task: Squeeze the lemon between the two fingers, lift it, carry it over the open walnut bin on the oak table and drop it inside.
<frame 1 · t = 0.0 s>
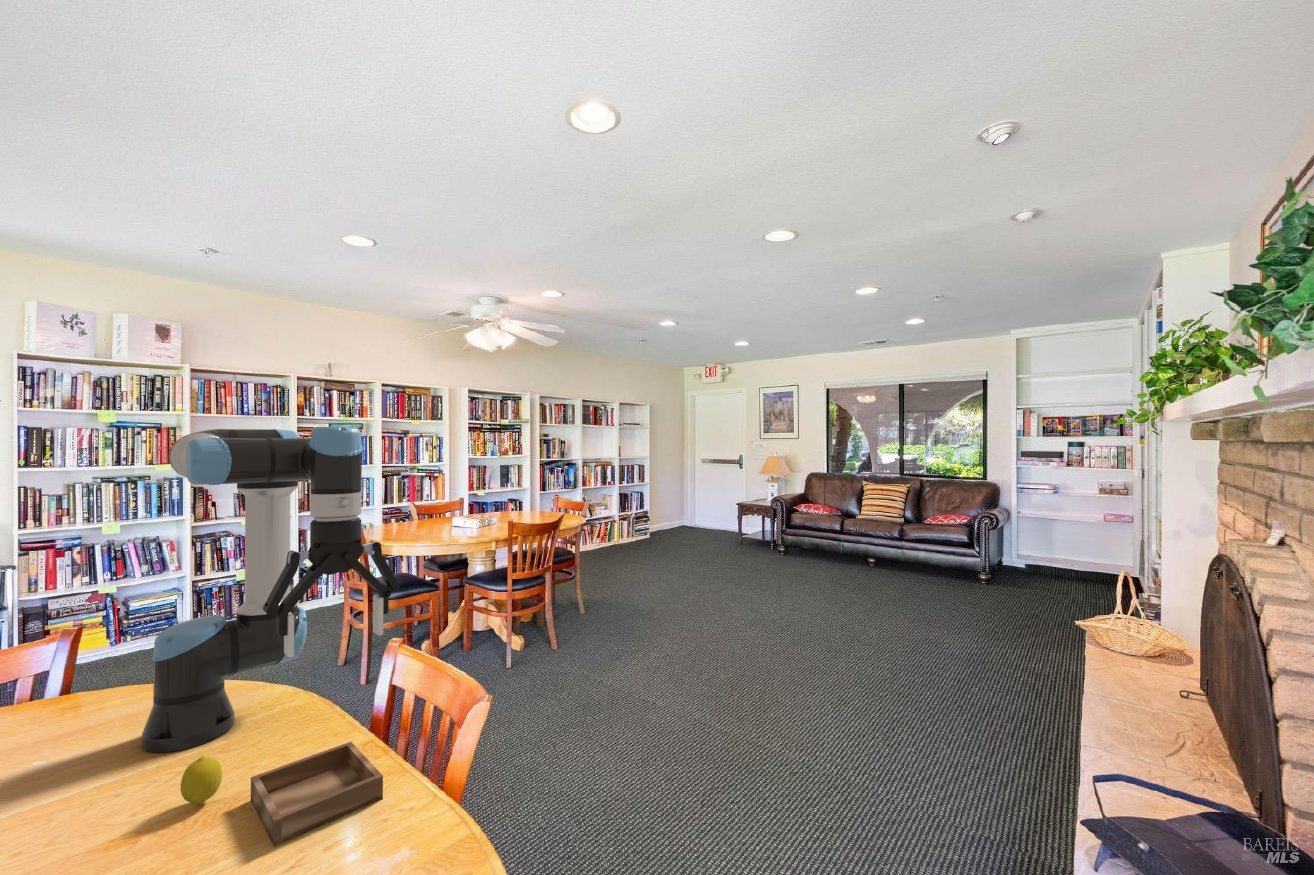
hand: (335, 643, 95), 28 cm above the table, tool pointing down, fingers open, 13 cm apart
lemon: (201, 804, 96), on the table
walnut bin: (316, 799, 97), on the table
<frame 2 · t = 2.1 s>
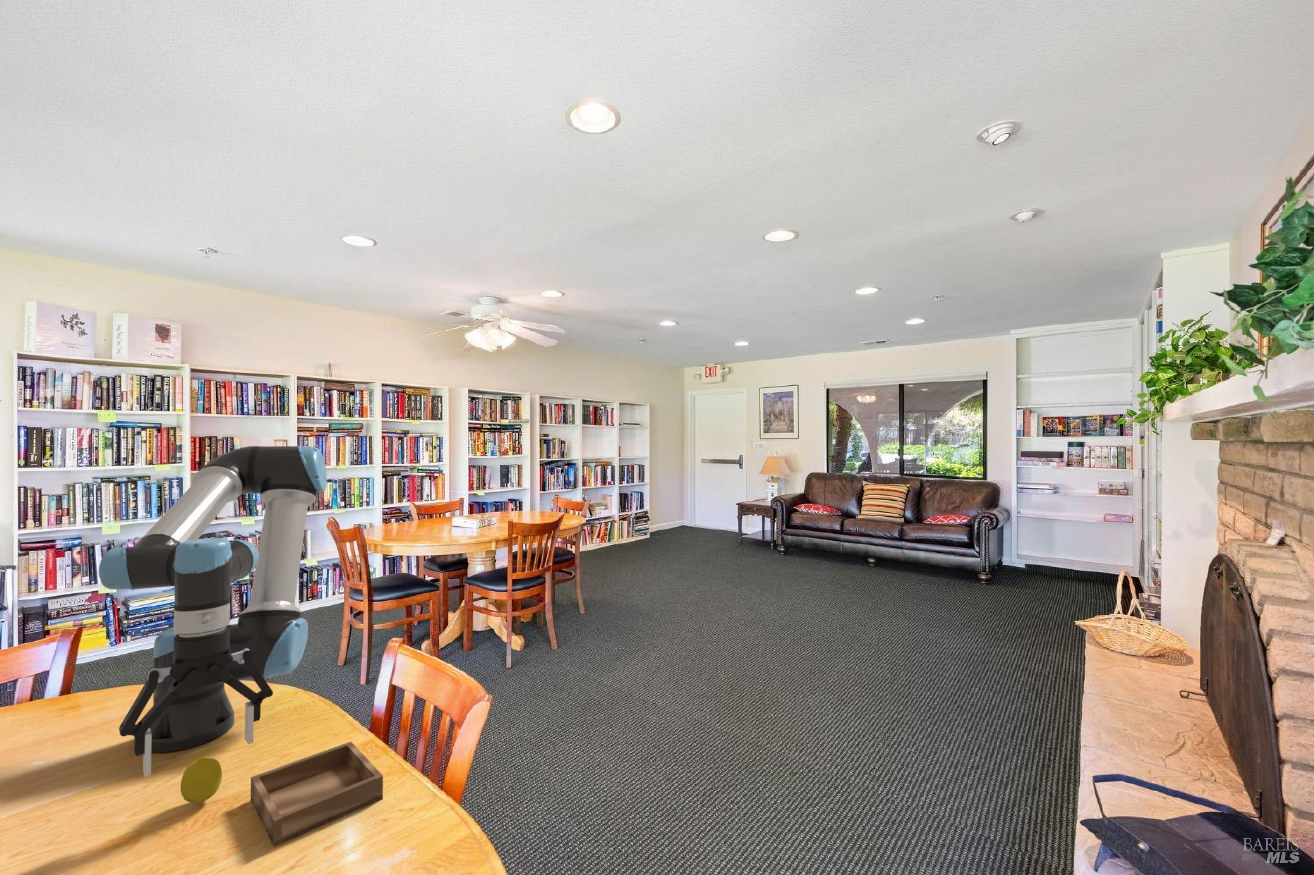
hand: (200, 756, 96), 8 cm above the table, tool pointing down, fingers open, 13 cm apart
nothing on the table moved.
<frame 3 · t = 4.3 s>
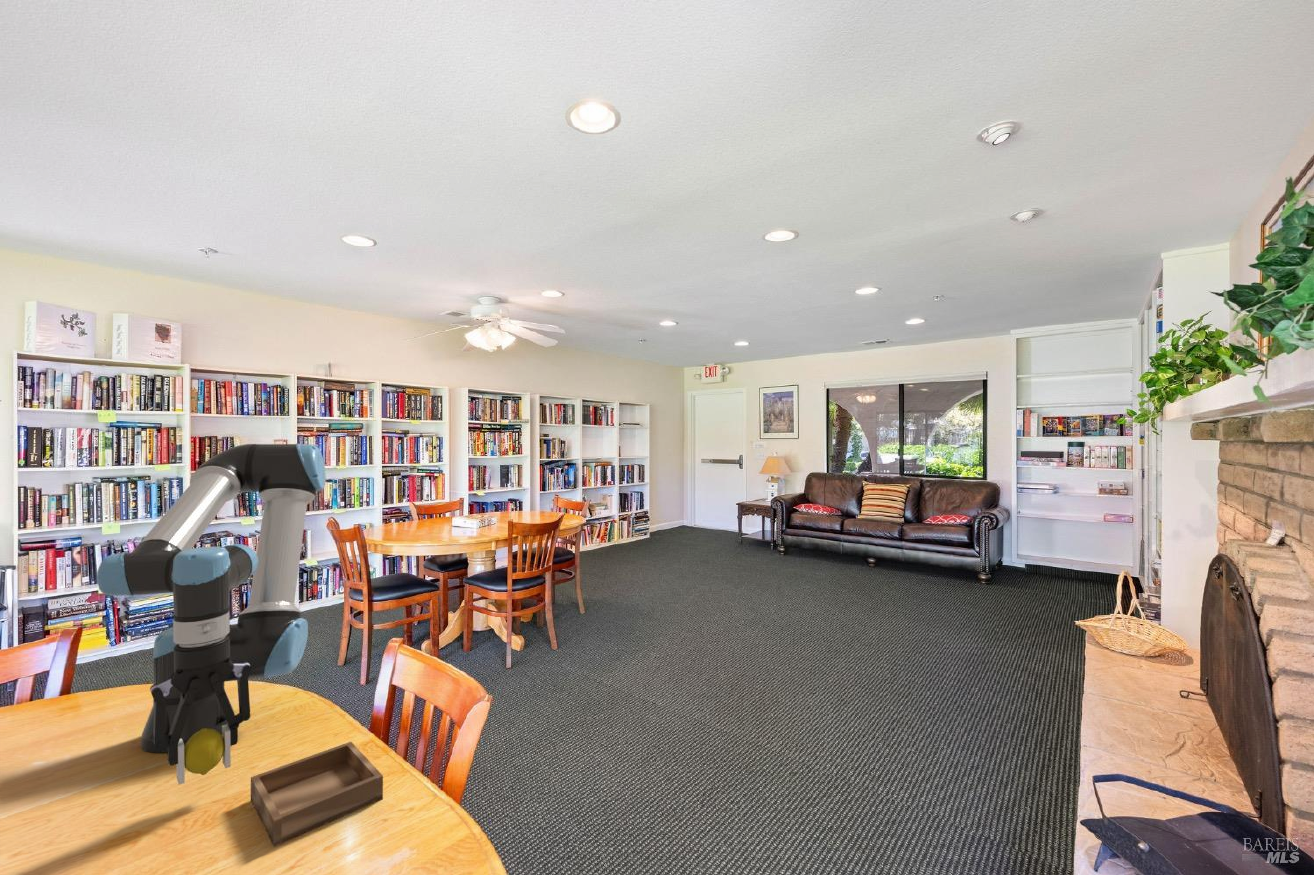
hand: (204, 771, 97), 5 cm above the table, tool pointing down, fingers closed on lemon, 5 cm apart
lemon: (204, 775, 97), point 4 cm above the table, touching gripper
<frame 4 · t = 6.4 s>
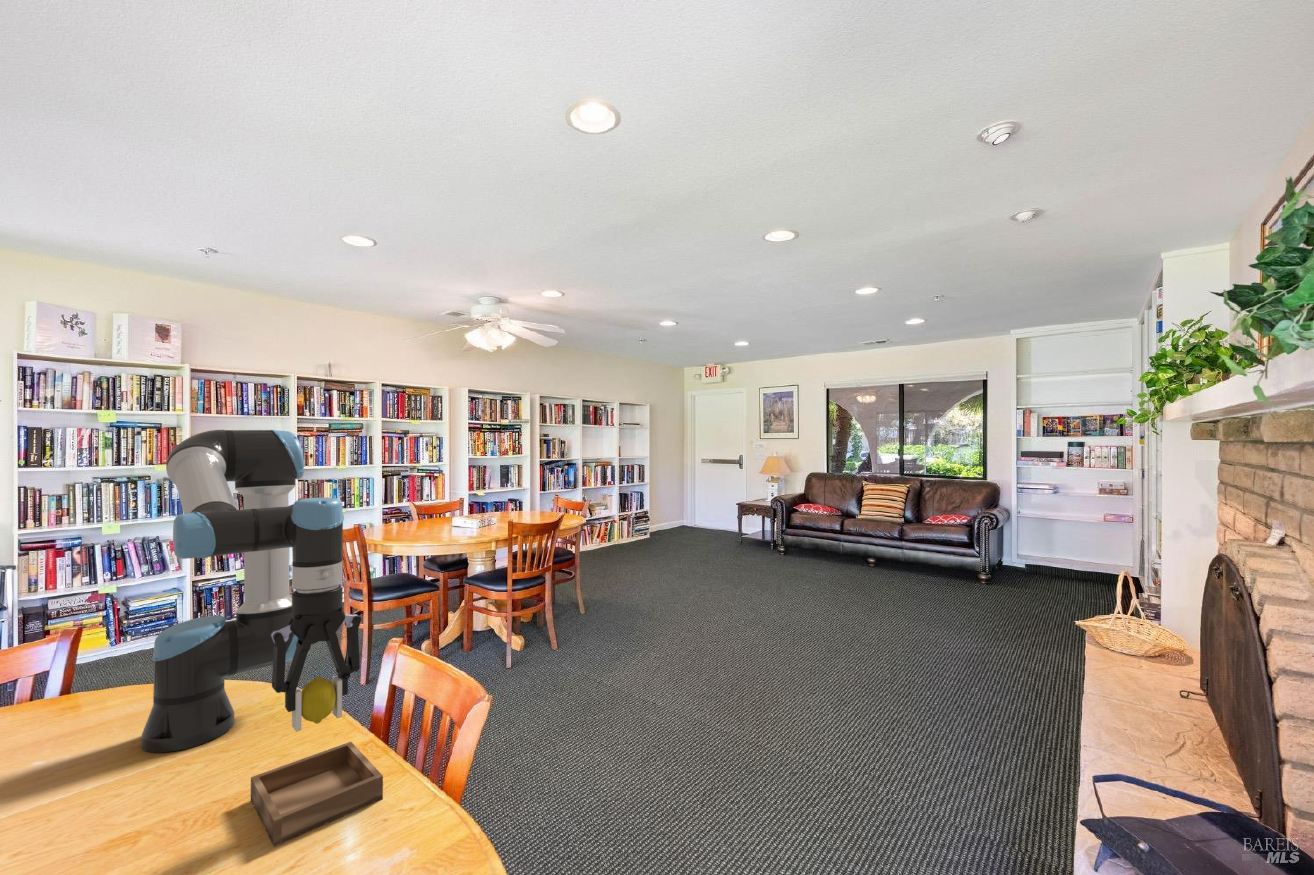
hand: (317, 721, 97), 14 cm above the table, tool pointing down, fingers closed on lemon, 5 cm apart
lemon: (317, 724, 97), point 13 cm above the table, touching gripper
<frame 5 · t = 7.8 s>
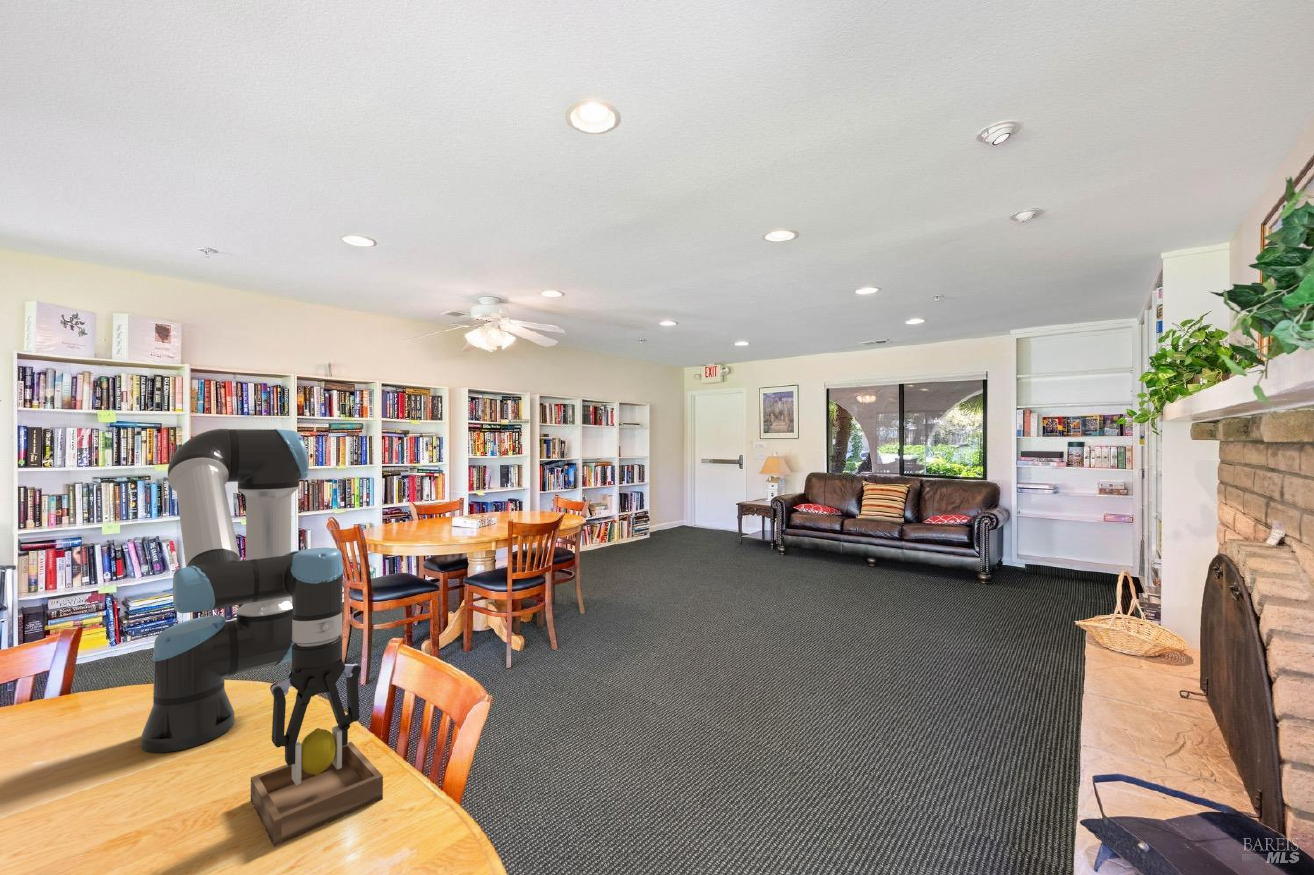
hand: (317, 772, 97), 5 cm above the table, tool pointing down, fingers closed on lemon, 5 cm apart
lemon: (317, 776, 97), point 4 cm above the table, touching gripper
when the fingers open (4 cm above the table, at t = 8.3 s): lemon drops 3 cm, resting on walnut bin.
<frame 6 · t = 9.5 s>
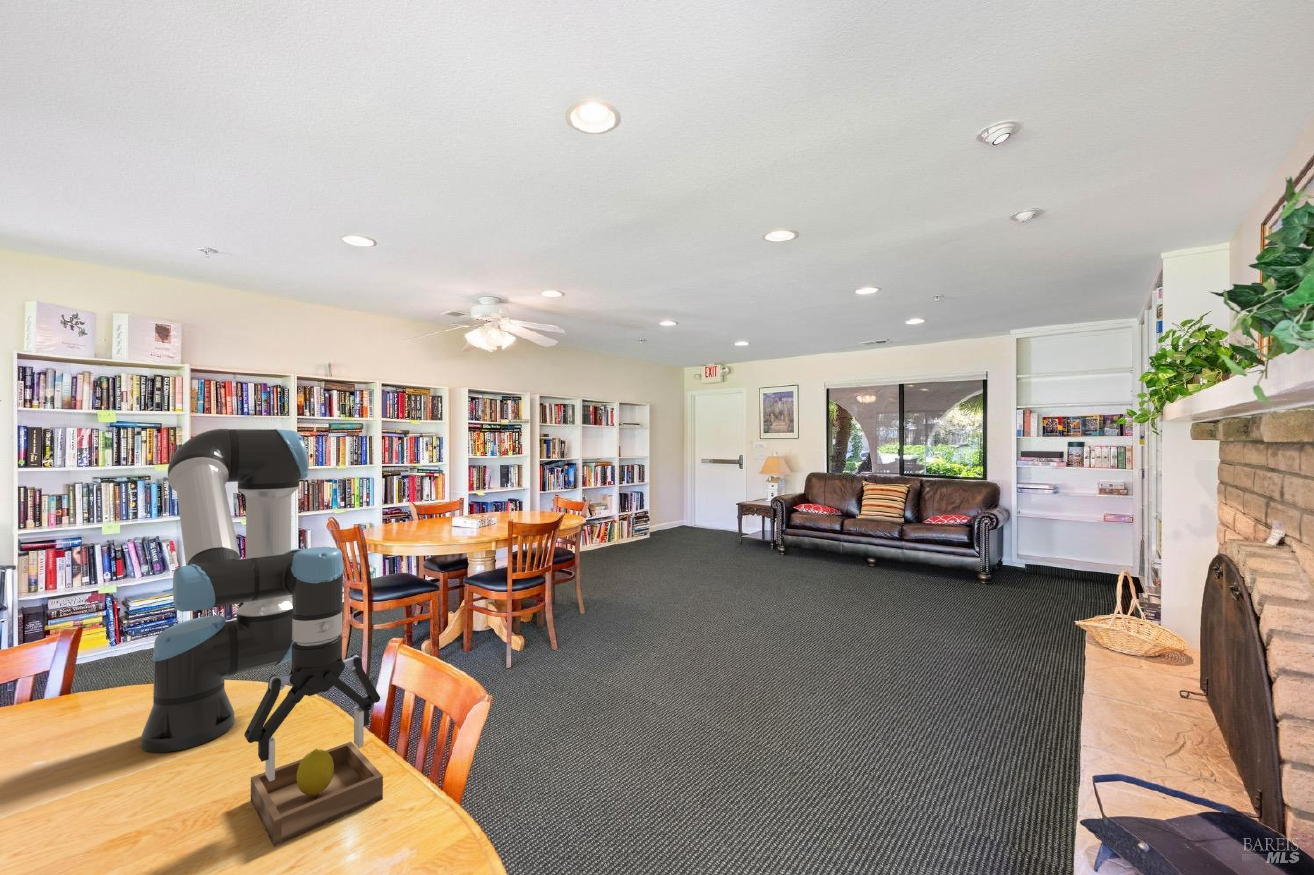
hand: (316, 760, 98), 7 cm above the table, tool pointing down, fingers open, 13 cm apart
lemon: (315, 796, 97), point 1 cm above the table, touching walnut bin
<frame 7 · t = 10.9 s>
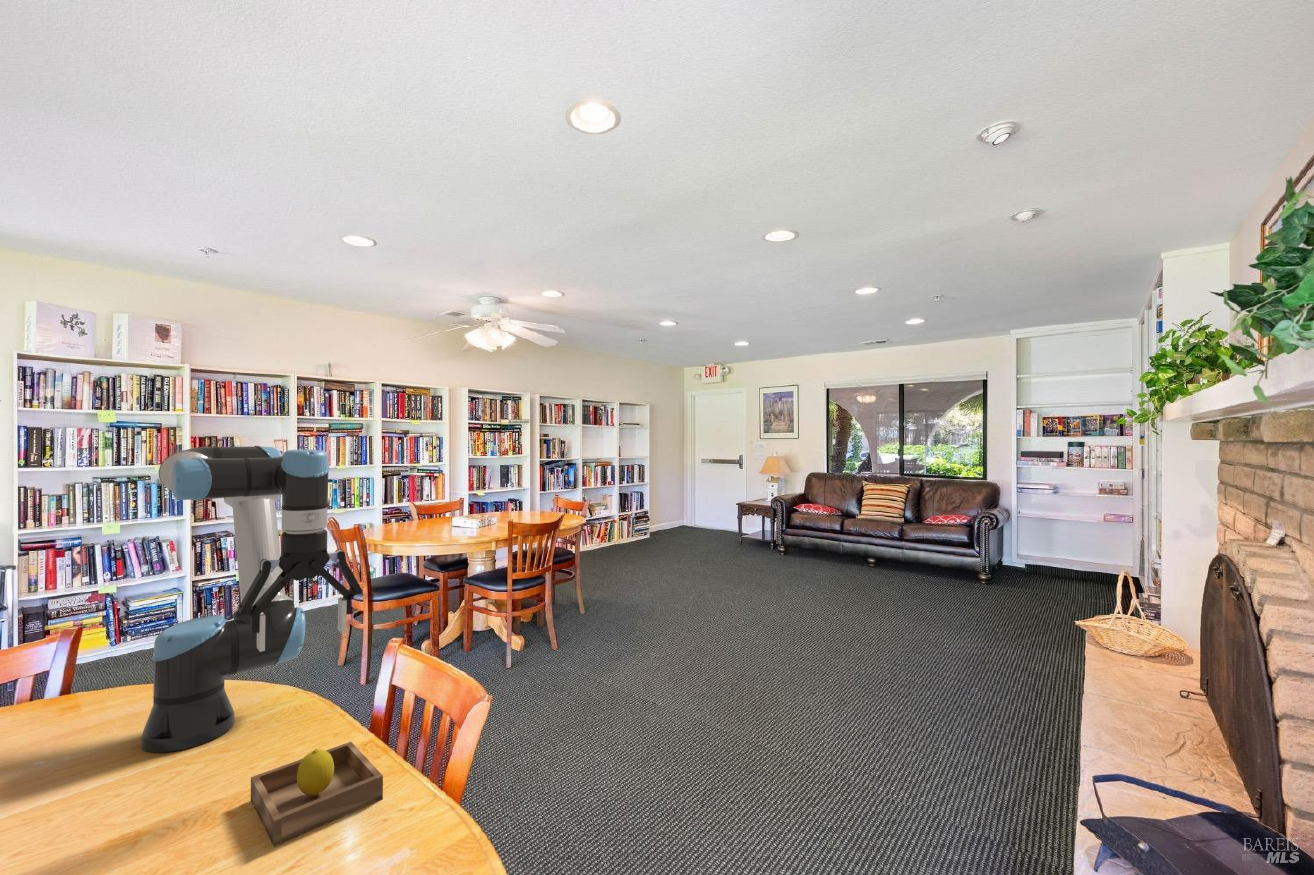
hand: (303, 639, 108), 24 cm above the table, tool pointing down, fingers open, 13 cm apart
nothing on the table moved.
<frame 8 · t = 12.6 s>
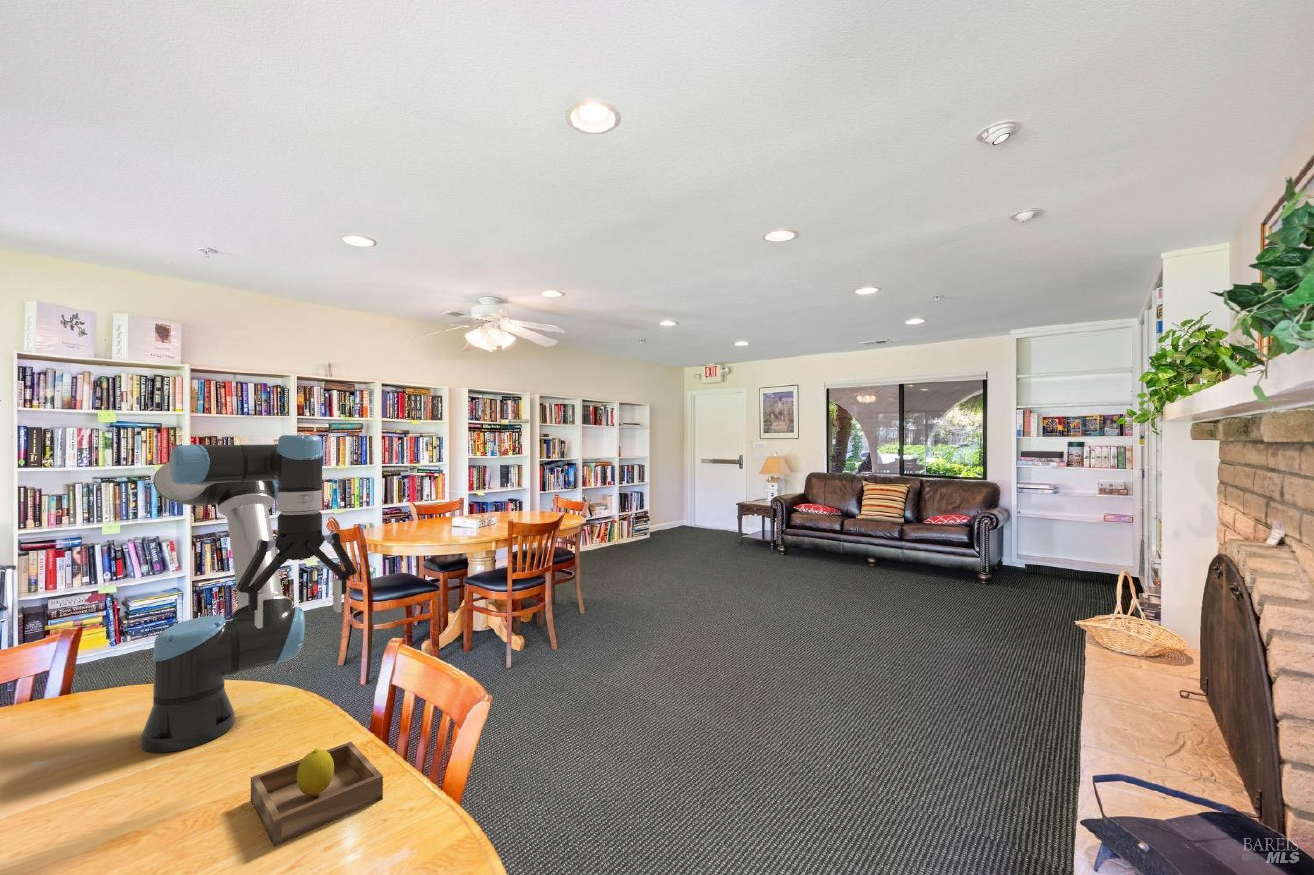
hand: (299, 618, 112), 27 cm above the table, tool pointing down, fingers open, 13 cm apart
nothing on the table moved.
at the end: lemon inside the target area on the walnut bin (0.2 cm from its centre), point 0.6 cm above the walnut bin's base; the gripper is holding nothing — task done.
